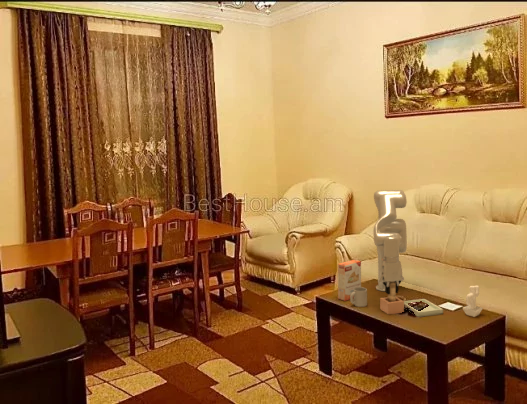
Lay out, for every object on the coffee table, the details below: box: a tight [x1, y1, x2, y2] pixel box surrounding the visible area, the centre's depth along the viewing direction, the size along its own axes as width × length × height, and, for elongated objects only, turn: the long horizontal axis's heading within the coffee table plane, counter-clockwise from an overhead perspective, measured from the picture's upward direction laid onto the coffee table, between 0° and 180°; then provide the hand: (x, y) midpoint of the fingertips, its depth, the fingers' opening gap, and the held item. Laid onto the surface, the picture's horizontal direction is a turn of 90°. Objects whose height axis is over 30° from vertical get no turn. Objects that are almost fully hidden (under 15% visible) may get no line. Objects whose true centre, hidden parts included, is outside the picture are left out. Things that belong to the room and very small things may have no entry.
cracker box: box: [337, 259, 362, 302], centre depth 294 cm, size 14×6×21 cm, turn 129°
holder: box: [379, 296, 405, 315], centre depth 270 cm, size 9×9×6 cm
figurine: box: [462, 285, 483, 318], centre depth 259 cm, size 7×9×15 cm
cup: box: [349, 286, 368, 308], centre depth 281 cm, size 7×10×9 cm
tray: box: [403, 298, 444, 318], centre depth 270 cm, size 18×14×2 cm
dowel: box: [387, 281, 397, 302], centre depth 270 cm, size 4×4×14 cm
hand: (391, 292), depth 270 cm, fingers closed on dowel, 4 cm apart
